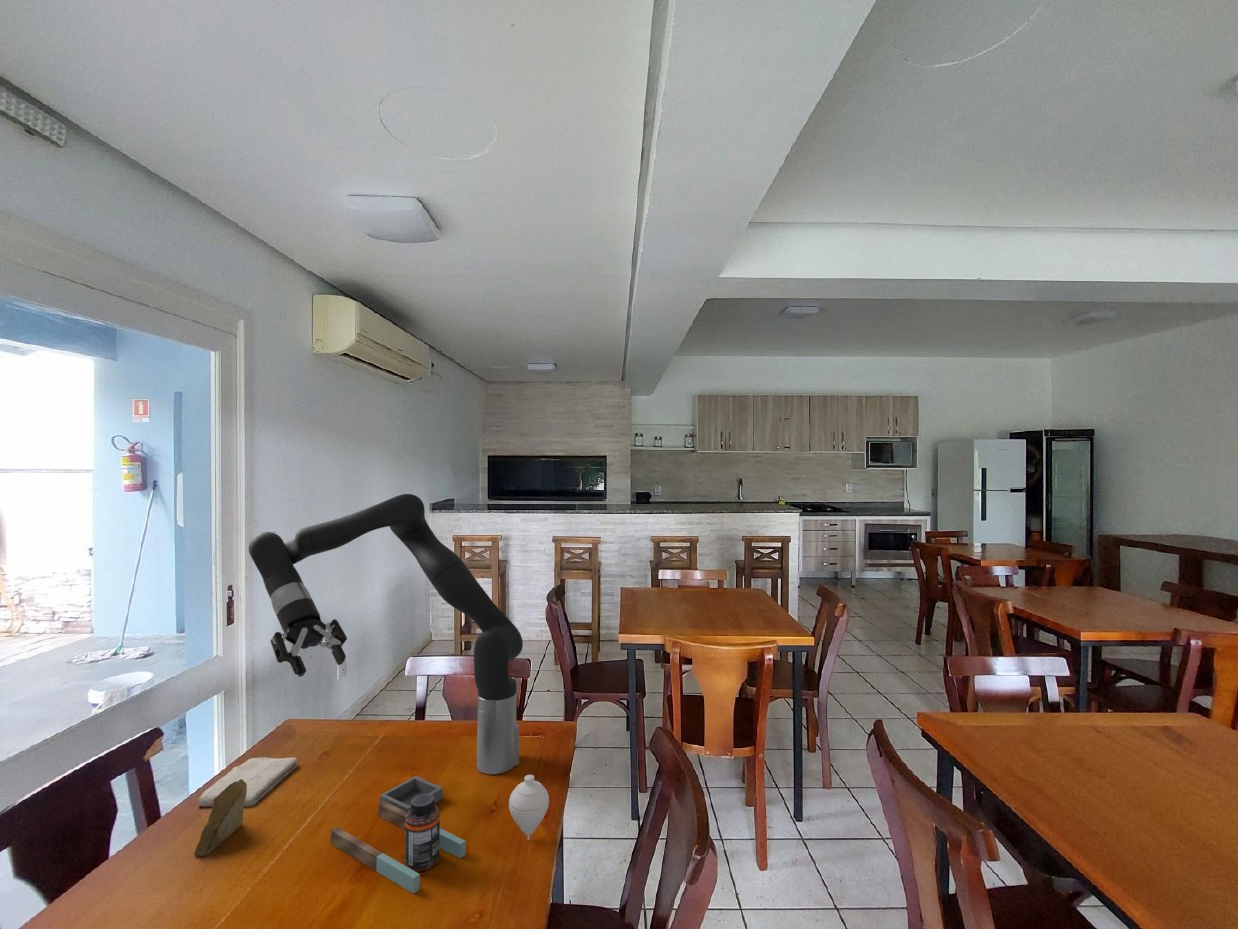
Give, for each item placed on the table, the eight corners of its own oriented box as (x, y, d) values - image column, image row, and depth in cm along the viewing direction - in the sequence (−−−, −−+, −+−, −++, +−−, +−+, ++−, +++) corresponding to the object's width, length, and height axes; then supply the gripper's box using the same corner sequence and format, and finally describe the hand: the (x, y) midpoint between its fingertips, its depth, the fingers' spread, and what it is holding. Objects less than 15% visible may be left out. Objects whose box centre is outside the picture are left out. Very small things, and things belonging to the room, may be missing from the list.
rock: (208, 852, 99) (264, 815, 108) (186, 809, 100) (243, 775, 109) (185, 871, 103) (241, 833, 112) (165, 829, 105) (222, 795, 114)
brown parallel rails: (330, 843, 105) (330, 830, 105) (383, 813, 115) (383, 800, 115) (376, 871, 98) (376, 857, 98) (429, 836, 107) (429, 823, 107)
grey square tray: (379, 807, 117) (379, 795, 117) (415, 787, 124) (415, 776, 124) (407, 821, 112) (407, 808, 112) (442, 799, 120) (442, 787, 120)
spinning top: (555, 832, 109) (556, 770, 109) (537, 857, 102) (537, 791, 102) (520, 824, 111) (521, 763, 112) (500, 848, 104) (501, 783, 104)
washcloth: (300, 766, 134) (300, 753, 134) (253, 810, 116) (253, 795, 116) (250, 766, 134) (250, 753, 134) (195, 810, 116) (196, 795, 116)
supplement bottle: (409, 852, 103) (410, 790, 103) (442, 850, 103) (443, 788, 104) (400, 875, 97) (401, 809, 97) (435, 873, 97) (435, 807, 98)
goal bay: (376, 871, 98) (376, 857, 98) (428, 836, 107) (429, 823, 107) (413, 894, 92) (413, 878, 92) (465, 854, 102) (465, 841, 102)
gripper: (319, 611, 132) (346, 669, 126) (254, 624, 120) (281, 689, 114) (332, 591, 129) (361, 649, 123) (267, 603, 117) (295, 667, 111)
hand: (322, 668), depth 118 cm, fingers open, 8 cm apart
